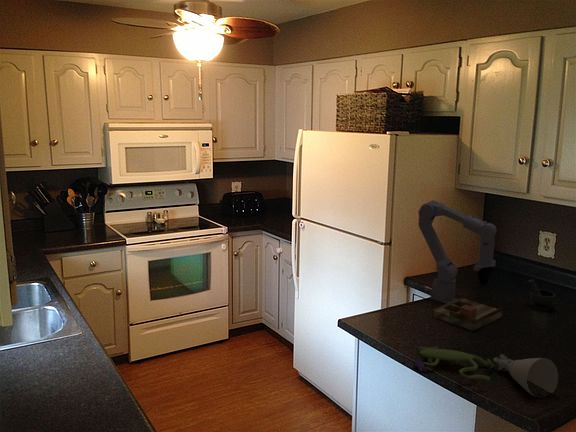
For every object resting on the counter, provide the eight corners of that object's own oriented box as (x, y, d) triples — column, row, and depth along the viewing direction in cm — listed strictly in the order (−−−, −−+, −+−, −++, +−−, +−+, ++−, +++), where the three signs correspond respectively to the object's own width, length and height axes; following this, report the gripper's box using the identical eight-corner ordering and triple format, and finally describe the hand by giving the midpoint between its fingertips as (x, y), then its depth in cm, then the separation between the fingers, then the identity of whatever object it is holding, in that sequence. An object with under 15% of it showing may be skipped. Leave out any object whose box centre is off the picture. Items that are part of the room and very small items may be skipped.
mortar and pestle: (554, 307, 222) (557, 280, 220) (553, 314, 214) (557, 286, 212) (525, 302, 227) (528, 275, 225) (523, 308, 219) (527, 281, 217)
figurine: (483, 396, 151) (485, 379, 150) (400, 366, 168) (401, 350, 167) (503, 373, 166) (505, 356, 164) (424, 347, 182) (426, 332, 181)
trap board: (431, 316, 208) (432, 305, 207) (461, 304, 223) (462, 293, 222) (473, 331, 195) (474, 319, 194) (501, 317, 209) (502, 305, 208)
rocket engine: (496, 338, 168) (539, 350, 151) (519, 357, 170) (564, 372, 153) (478, 368, 165) (520, 384, 148) (501, 388, 168) (545, 406, 151)
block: (458, 318, 200) (459, 307, 199) (465, 315, 203) (466, 304, 202) (469, 322, 196) (470, 310, 196) (475, 319, 199) (476, 308, 198)
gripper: (486, 257, 207) (483, 290, 209) (503, 251, 216) (501, 283, 219) (470, 254, 212) (467, 286, 215) (487, 248, 221) (485, 279, 224)
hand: (483, 284), depth 217 cm, fingers closed
